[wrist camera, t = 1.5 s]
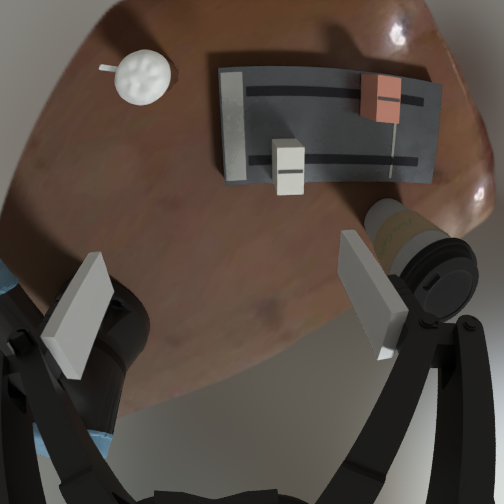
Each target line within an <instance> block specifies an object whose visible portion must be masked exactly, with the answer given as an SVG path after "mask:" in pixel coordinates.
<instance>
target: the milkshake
mask: <svg viewBox="0 0 504 504" xmlns="http://www.w3.org/2000/svg"><path fill="white" fill-rule="evenodd" d="M98 70H103V71H111V72H116V74H115V86H116V89H117V91H118V93H119V95H120V96H121V97H122V98H123V99H124V100H126V101H127V102H129V103H132V104H135V105H146V104H150V103H152V102H154V101H156V100H157V99H159V98H160V97H161V96H162V95H163V94H164V93H166V92H167V91H169V90H170V89H171V88H172V87H173V86H174V85H175V84H176V83H177V82H178V74H179V72H178V70H177V69H176V67H175V65H174V64H173V63H171V62H170V61H168V60H167V59H165V58H164V57H163V56H162V55H161V54H159V53H157V52H155V51H152V50H139V51H136V52H133V53H131V54H129V55H128V56H126V57H125V58H124V59H123V60H122V61H121V63H120V64H119V66H118V67H117V66H110V65H104V64H100V66H99V69H98Z"/></svg>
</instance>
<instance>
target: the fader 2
mask: <svg viewBox="0 0 504 504" xmlns="http://www.w3.org/2000/svg"><path fill="white" fill-rule="evenodd" d="M400 98H401V78H397V77H391V76H384V75H375V74H361V106H360V115H361V116H363V117H366V118H368V119H371V120H373V121H376V122H386V123H397V124H399V116H400Z"/></svg>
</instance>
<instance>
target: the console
mask: <svg viewBox="0 0 504 504" xmlns="http://www.w3.org/2000/svg"><path fill="white" fill-rule="evenodd" d="M361 74H375V75H384V76H391V77H397V78H401V98H400V116H399V124H397V123H386V122H376V121H373V120H371V119H368V118H366V117H363V116H361V115H360V106H361ZM218 76H219V95H220V114H221V131H222V147H223V163H224V178H225V185H242V184H263V183H273V182H272V139H297V140H298V141H299V142H300V143H301V144H302V145H303V146H304V147H305V154H304V182H409V183H432V177H433V170H434V164H435V157H436V149H437V141H438V132H439V121H440V109H441V94H442V84H437V83H433V82H428V81H423V80H418V79H413V78H407V77H401V76H395V75H389V74H382V73H374V72H366V71H358V70H348V69H336V68H322V67H301V66H248V67H226V68H218Z"/></svg>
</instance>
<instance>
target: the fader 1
mask: <svg viewBox="0 0 504 504" xmlns="http://www.w3.org/2000/svg"><path fill="white" fill-rule="evenodd" d="M304 154H305V147H304V146H303V145H302V144H301V143H300V142H299V141H298V140H297V139H272V182H273V184H274V187H275V190H276V193H277V195H297V194H303V192H304Z"/></svg>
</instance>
